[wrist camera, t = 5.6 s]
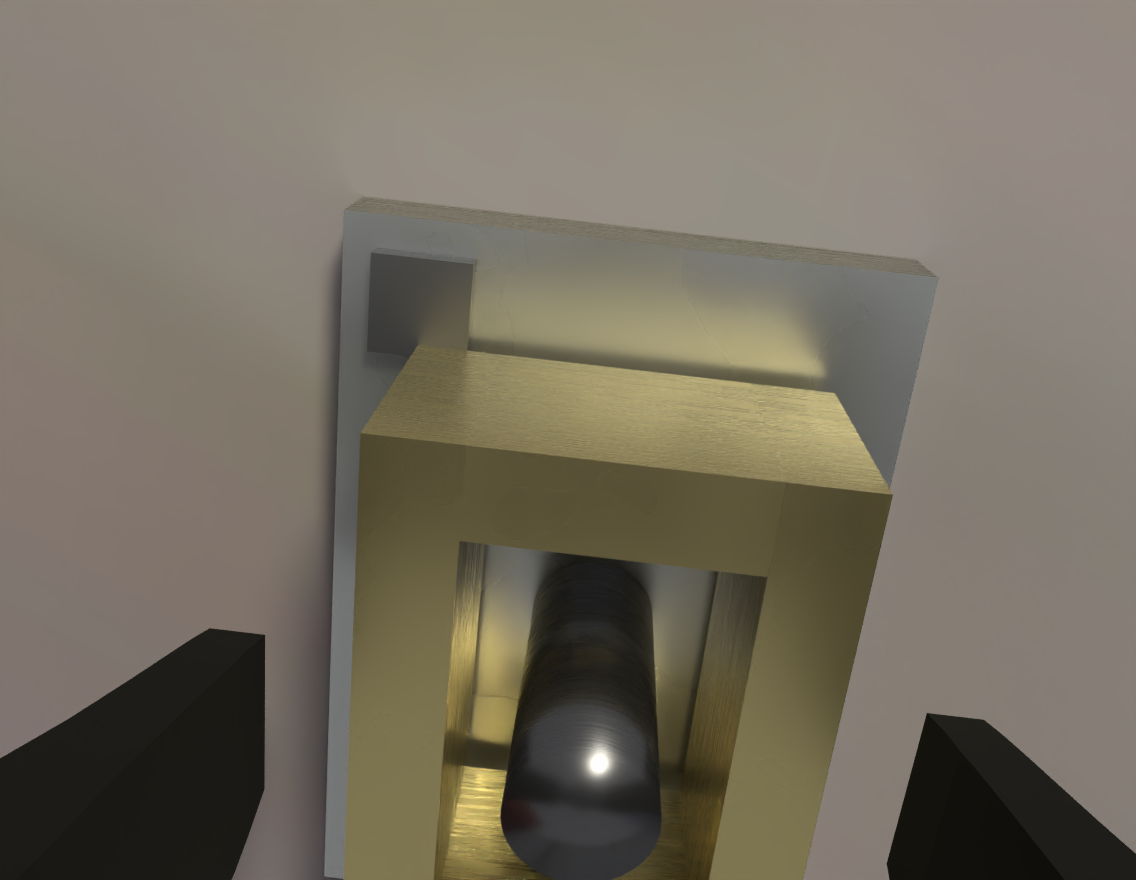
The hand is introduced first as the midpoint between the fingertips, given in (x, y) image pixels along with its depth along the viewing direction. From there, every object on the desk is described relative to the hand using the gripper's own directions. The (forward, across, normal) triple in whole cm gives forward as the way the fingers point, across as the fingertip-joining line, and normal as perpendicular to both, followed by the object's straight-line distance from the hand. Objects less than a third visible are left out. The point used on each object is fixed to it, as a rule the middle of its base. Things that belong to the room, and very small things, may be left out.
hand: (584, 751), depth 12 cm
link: (+3, 0, 0) cm, 3 cm away
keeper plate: (+4, 0, 0) cm, 4 cm away
